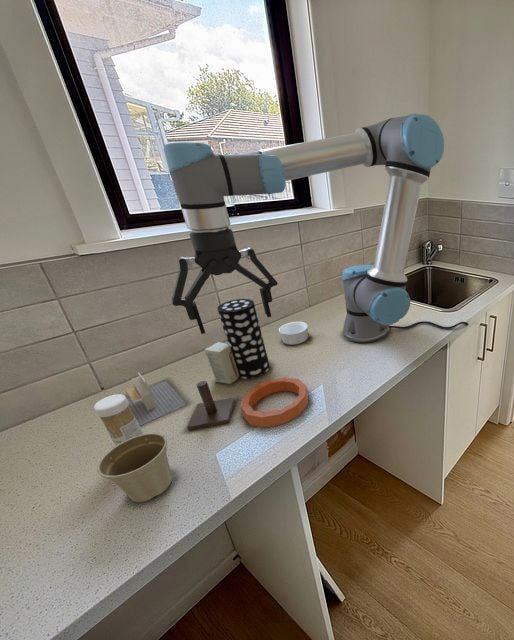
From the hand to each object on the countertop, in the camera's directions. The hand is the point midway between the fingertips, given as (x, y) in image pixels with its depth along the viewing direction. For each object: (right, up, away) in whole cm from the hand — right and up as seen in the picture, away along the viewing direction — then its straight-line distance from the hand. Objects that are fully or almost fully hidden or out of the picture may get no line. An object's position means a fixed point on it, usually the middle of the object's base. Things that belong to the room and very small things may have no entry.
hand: (237, 323), depth 77 cm
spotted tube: (-5, -14, +18) cm, 23 cm away
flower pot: (-7, -30, -16) cm, 34 cm away
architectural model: (-24, -20, +5) cm, 32 cm away
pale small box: (-10, -15, +14) cm, 23 cm away
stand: (-6, -21, +1) cm, 22 cm away
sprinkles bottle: (-15, -27, -9) cm, 32 cm away
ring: (+7, -20, +4) cm, 22 cm away
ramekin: (0, -6, +33) cm, 34 cm away
